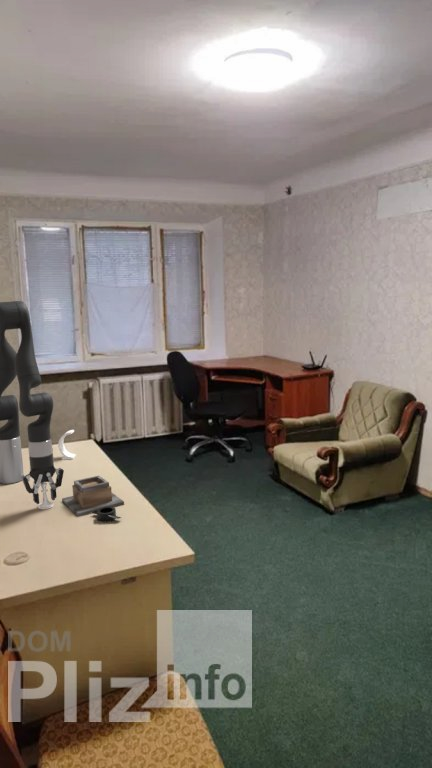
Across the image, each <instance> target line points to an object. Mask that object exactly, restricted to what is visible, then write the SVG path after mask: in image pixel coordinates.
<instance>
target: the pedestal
mask: <svg viewBox="0 0 432 768" xmlns="http://www.w3.org/2000/svg"><path fill="white" fill-rule="evenodd" d="M61 500H62V502H63V503H64V504H65V505H66V506H67V507H68V508H69V509H70V510H71V511H72V512H73V513H74V514H75V515H76V516H77V517H81V516H86V515H89V514H92V513H93V512H94V511H95V510H98V509H100V508H103V507H114V508H116V507H118V506H124V505H125V501H124V500H123V499H122V498H120V497H119V496H118V495H116V494H114V493H113V492H112V486H110V482H109V481H107V479H105V478H103V477H102V476H100V475H95V476H91V477H86V478H82V479H77V480H73V485H72V495H71V496H66V497H62V498H61Z"/></svg>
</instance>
